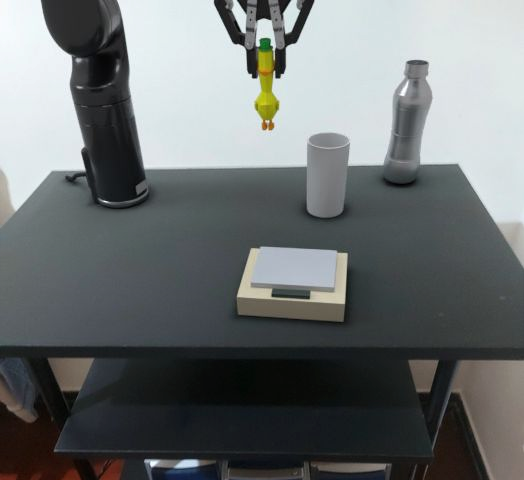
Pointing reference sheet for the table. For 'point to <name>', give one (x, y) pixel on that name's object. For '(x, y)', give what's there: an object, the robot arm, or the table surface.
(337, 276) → the scale
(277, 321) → the table surface
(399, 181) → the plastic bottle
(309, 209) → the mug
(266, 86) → the toy figure
